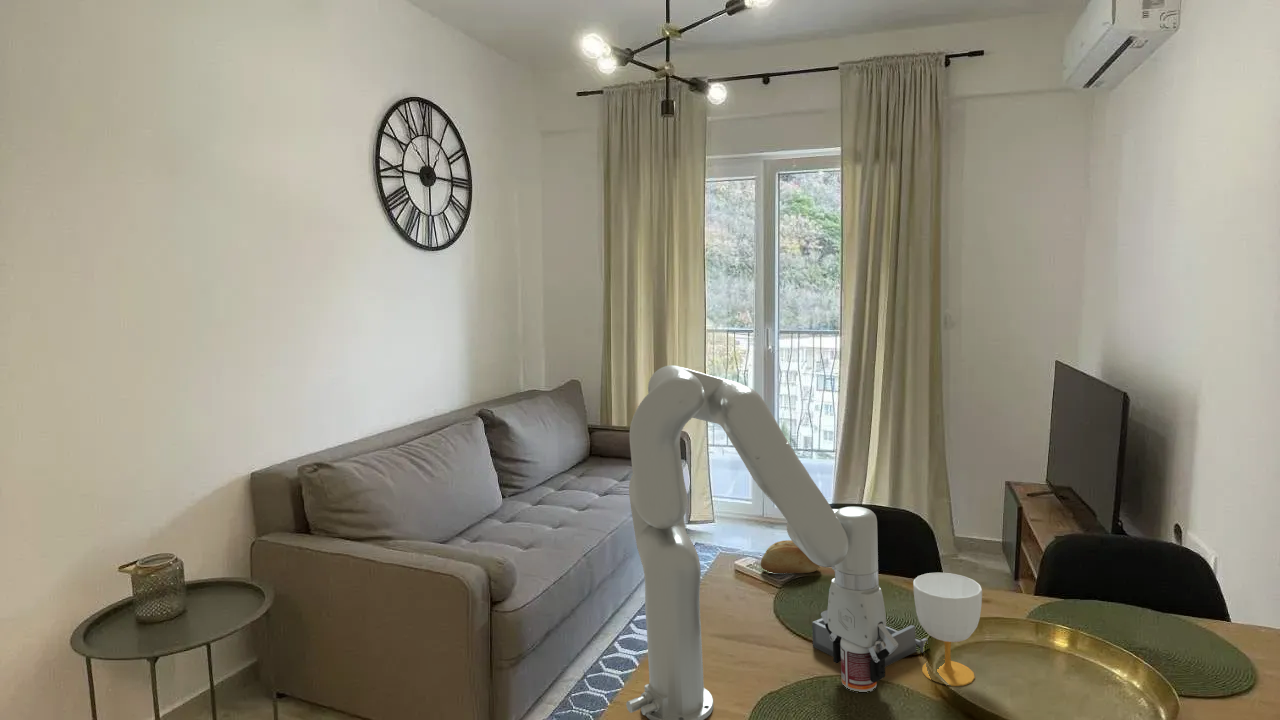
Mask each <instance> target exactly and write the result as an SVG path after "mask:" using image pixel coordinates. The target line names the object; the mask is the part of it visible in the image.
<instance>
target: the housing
mask: <svg viewBox="0 0 1280 720" xmlns="http://www.w3.org/2000/svg"><path fill="white" fill-rule="evenodd" d="M811 627H812V647H813V648H815V649H817V650H819V651H821V652H822V653H825V654H827V655H829V656H830V657H832V658H833V641H831V640H830V634H829V632H828V630H827V629H826V627H825V623H824V621H823V619H822V617H821V618H818V619H817V620H814V621H812V622H811ZM886 629H887V630H888V631H889V633H890V634H891V635H892V636H893V638H894V639H895V640H896V641H897V643H898V647H897V648H896V649H895V651H893V653H892V654H891V655H890V656H888V657H887V658H885V668H886V667H888V666H890V665H892V664H894V663H896V662H898V661H901V660H902V659H903V658H905V657H908V656H909V655H911V654H914V653H916V652H917V646H919V648H920V653H922V654H924V653H923V647H924V644H925V642H926V641H927V642H928V638H927V637H924V638H922V639H917V638H916V626H915V625H914V624H913V625H912V624H910V625H909V626H906V627H904V628H903V629H900V630H896V629H894V628H892V627H889V626H887V625H886ZM883 644H884V646H885V647H886V643H885V642H884V641H883ZM876 650H877V653H879V649H878V647H877V645H876Z"/></svg>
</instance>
